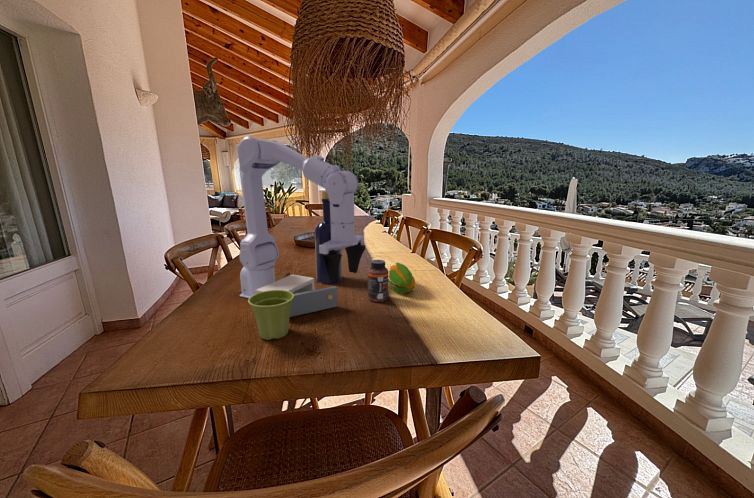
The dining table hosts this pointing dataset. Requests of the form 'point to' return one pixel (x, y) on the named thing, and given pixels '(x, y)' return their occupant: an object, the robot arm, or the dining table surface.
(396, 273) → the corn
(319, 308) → the door
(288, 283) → the cabinet
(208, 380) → the dining table surface
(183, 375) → the dining table surface
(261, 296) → the plant pot
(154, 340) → the dining table surface
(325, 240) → the bottle
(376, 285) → the supplement bottle
